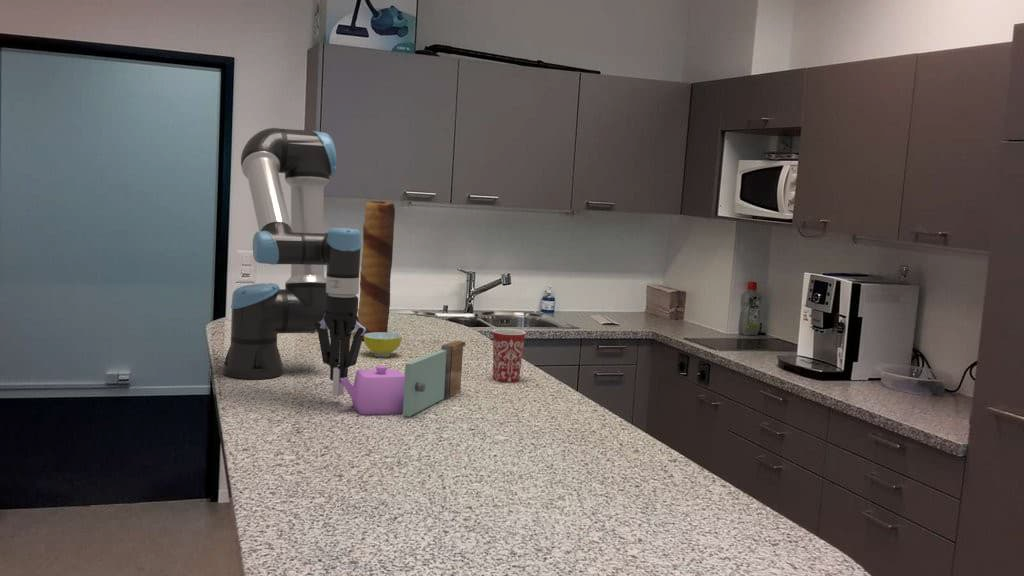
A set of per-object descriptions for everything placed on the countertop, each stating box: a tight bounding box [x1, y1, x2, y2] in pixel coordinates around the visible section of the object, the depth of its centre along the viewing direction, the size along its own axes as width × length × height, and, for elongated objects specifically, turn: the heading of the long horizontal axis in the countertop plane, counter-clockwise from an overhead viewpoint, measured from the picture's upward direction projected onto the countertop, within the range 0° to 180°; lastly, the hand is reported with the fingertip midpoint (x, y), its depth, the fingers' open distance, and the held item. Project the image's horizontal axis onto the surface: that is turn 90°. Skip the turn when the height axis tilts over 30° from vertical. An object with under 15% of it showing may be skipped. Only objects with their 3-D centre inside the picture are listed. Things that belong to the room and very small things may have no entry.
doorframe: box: [440, 340, 466, 400], centre depth 231 cm, size 3×10×13 cm, turn 161°
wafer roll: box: [357, 200, 396, 340], centre depth 300 cm, size 10×11×45 cm
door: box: [402, 349, 446, 417], centre depth 216 cm, size 20×3×12 cm, turn 161°
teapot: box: [340, 365, 405, 416], centre depth 213 cm, size 18×10×10 cm, turn 112°
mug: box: [492, 328, 527, 383], centre depth 255 cm, size 13×9×14 cm
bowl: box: [363, 332, 403, 358], centre depth 276 cm, size 11×12×6 cm
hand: (338, 394), depth 217 cm, fingers closed
